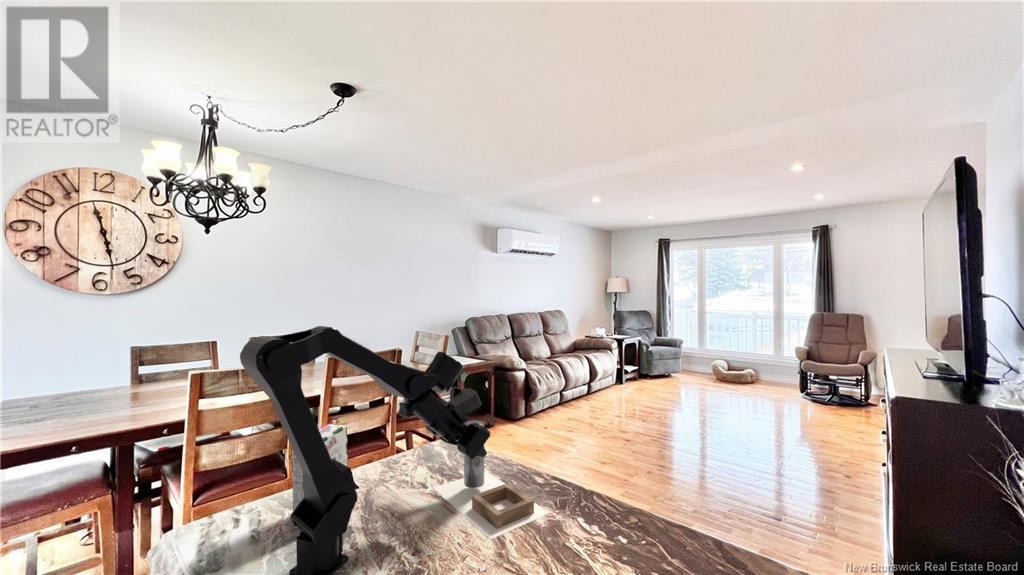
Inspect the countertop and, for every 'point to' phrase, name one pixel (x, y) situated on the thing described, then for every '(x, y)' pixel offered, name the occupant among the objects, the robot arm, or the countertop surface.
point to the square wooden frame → (507, 515)
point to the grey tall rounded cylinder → (474, 467)
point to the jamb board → (462, 502)
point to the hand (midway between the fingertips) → (479, 451)
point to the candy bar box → (337, 450)
